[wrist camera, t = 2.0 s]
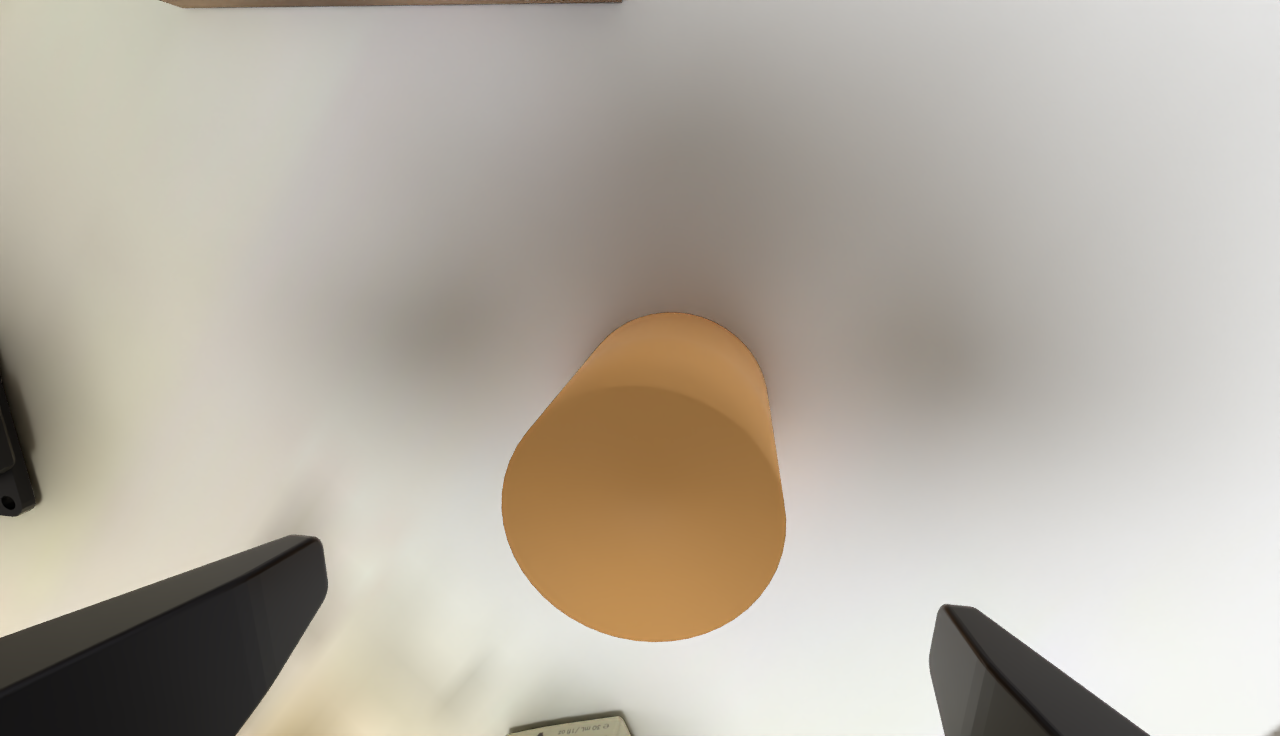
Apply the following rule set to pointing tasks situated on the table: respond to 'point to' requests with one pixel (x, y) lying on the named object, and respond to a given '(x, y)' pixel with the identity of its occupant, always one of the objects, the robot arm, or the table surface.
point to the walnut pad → (352, 2)
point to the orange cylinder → (651, 484)
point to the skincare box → (581, 728)
